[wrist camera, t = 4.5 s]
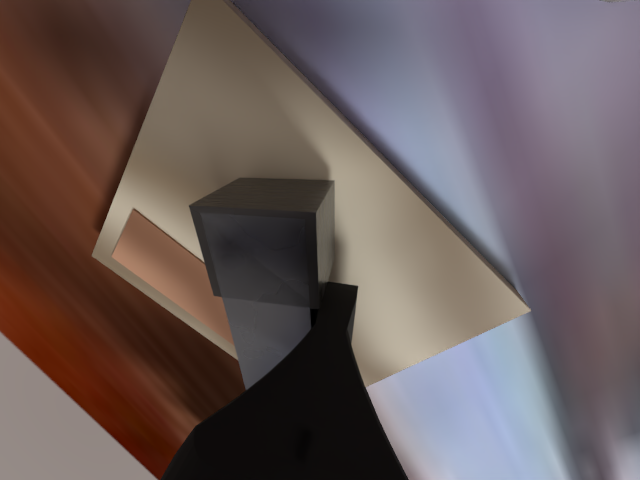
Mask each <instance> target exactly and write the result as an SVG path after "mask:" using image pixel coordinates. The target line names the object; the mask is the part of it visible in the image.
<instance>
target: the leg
mask: <svg viewBox="0 0 640 480" xmlns="http://www.w3.org/2000/svg"><path fill="white" fill-rule="evenodd" d="M189 208H190V212H191V216H192V219H193V223H194V226H195V230H196V234H197V237H198V241H199V244H200V248H201V252H202V255H203V259H204V263H205V266H206V270H207V273H208V277H209V281H210V284H211V288H212V291H213V295H214V296H217V297H222V299H223V303H224V307H225V311H226V315H227V319H228V323H229V326H230V330H231V334H232V338H233V342H234V346H235V350H236V354H237V357H238V361H239V365H240V369H241V373H242V377H243V381H244V384H245V388H246V390H247V389H248V388H250V387H251V386H252V385H253V384H255V383H256V382H257V381H259V380H260V379H261V378H262V377H263V376H265V375H266V374H267V373H268V372H269V371H270V370H272V369H273V368H274V367H275V366H276V365H277V364H278V363H279V362H280V361H281V360H282V359H283V358H285V357H286V356H287V355H288V354H289V353H290V352H291V351H292V350H293V349H294V348H295V347H296V346H297V344H298V343H299V342H300V341H301V340H302V339H303V338H304V337H305V336H306V334H307V333H308V332H309V331H310V330H311V328H312V327H313V326H314V325H315V323H316V318H317V313H318V309H320V306H321V302H322V299H323V296H324V292H325V289H326V285H327V282H328V279H329V275H330V272H331V268H332V265H333V262H334V256H335V180H306V179H273V178H241V177H240V178H238V179H236V180H234V181H232V182H231V183H229V184H227V185H225V186H223V187H221V188H220V189H218V190H216V191H214V192H212V193H210V194H209V195H207V196H205V197H203V198H201V199H199V200H198V201H196V202H194V203H192V204H190V205H189Z"/></svg>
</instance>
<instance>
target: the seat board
mask: <svg viewBox="0 0 640 480" xmlns="http://www.w3.org/2000/svg"><path fill="white" fill-rule="evenodd" d="M240 177H241V178H273V179H306V180H335V256H334V262H333V265H332V268H331V272H330V275H329V279H328V281H329V282H336V283H342V284H349V285H356V286H358V293H357V301H356V310H355V319H354V327H353V335H352V343H351V345H352V348H353V352H354V355H355V359H356V362H357V365H358V368H359V371H360V374H361V376H362V379H363V382H364V385H365V387H367V386H369V385H371V384H373V383H376V382H378V381H380V380H382V379H384V378H386V377H389V376H391V375H393V374H395V373H397V372H399V371H402V370H404V369H406V368H408V367H410V366H412V365H415V364H417V363H419V362H421V361H423V360H425V359H428V358H430V357H432V356H434V355H436V354H438V353H441V352H443V351H445V350H447V349H449V348H452V347H454V346H456V345H458V344H460V343H462V342H465V341H467V340H469V339H471V338H473V337H475V336H478V335H480V334H482V333H484V332H486V331H488V330H491V329H493V328H495V327H497V326H499V325H501V324H504V323H506V322H508V321H510V320H512V319H514V318H517V317H519V316H521V315H523V314H525V313H527V312H530V311H531V310H530V308H529V307H528V305H527V304H526V303H525V301H524V300H523V298H522V297H521V296H520V294H519V293H518V291H517V290H516V289H515V288H514V287H513V286H512V285H511V284H510V283H509V282H508V281H507V280H506V279H505V278H504V277H503V276H502V275H501V274H500V273H499V272H498V271H497V270H496V269H495V268H494V267H493V266H492V265H491V264H490V263H489V262H488V261H487V260H486V259H485V258H484V257H483V256H482V255H481V254H480V253H479V252H478V251H477V250H476V249H475V248H474V247H473V246H472V245H471V244H470V243H469V242H468V241H467V240H466V239H465V238H464V237H463V236H462V235H461V234H460V233H459V232H458V231H457V230H456V229H455V228H454V227H453V226H452V225H451V224H450V223H449V222H448V221H447V220H446V219H445V218H444V217H443V216H442V215H441V214H440V213H439V212H438V211H437V210H436V208H435V207H434V206H433V205H432V204H431V203H430V202H429V201H428V200H427V199H426V198H425V197H424V196H423V195H422V194H421V193H420V192H419V191H418V190H417V189H416V188H415V187H414V186H413V185H412V184H411V183H410V182H409V181H408V180H407V179H406V178H405V177H404V176H403V175H402V174H401V173H400V172H399V171H398V170H397V169H396V168H395V167H394V166H393V165H392V164H391V163H390V162H389V161H388V160H387V159H386V158H385V157H384V156H383V155H382V154H381V153H380V152H379V151H378V150H377V149H376V148H375V147H374V146H373V145H372V144H371V143H370V142H369V141H368V140H367V139H366V138H365V137H364V136H363V135H362V134H361V133H360V132H359V131H358V130H357V129H356V128H355V127H354V126H353V125H352V124H351V123H350V122H349V121H348V119H347V118H346V117H345V116H344V115H343V114H342V113H341V112H340V111H339V110H338V109H337V108H336V107H335V106H334V105H333V104H332V103H331V102H330V101H329V100H328V99H327V98H326V97H325V96H324V95H323V94H322V93H321V92H320V91H319V90H318V89H317V88H316V87H315V86H314V85H313V84H312V83H311V82H310V81H309V80H308V79H307V78H306V77H305V76H304V75H303V74H302V73H301V72H300V71H299V70H298V69H297V68H296V67H295V66H294V65H293V64H292V63H291V62H290V61H289V60H288V59H287V58H286V57H285V56H284V55H283V54H282V53H281V52H280V51H279V50H278V49H277V48H276V47H275V46H274V45H273V44H272V43H271V42H270V41H269V40H268V39H267V38H266V37H265V36H264V35H263V34H262V33H261V31H260V30H259V29H258V28H257V27H256V26H255V25H254V24H253V23H252V22H251V21H250V20H249V19H248V18H247V17H246V16H245V15H244V14H243V13H242V12H241V11H240V10H239V9H238V8H237V7H236V6H235V5H234V4H233V3H232V2H231V1H230V0H191V2H190V5H189V7H188V10H187V12H186V15H185V17H184V20H183V23H182V25H181V28H180V30H179V33H178V35H177V38H176V40H175V43H174V46H173V48H172V51H171V53H170V56H169V58H168V61H167V64H166V66H165V69H164V71H163V74H162V76H161V79H160V82H159V84H158V87H157V89H156V92H155V94H154V97H153V99H152V102H151V105H150V107H149V110H148V112H147V115H146V117H145V120H144V123H143V125H142V128H141V130H140V133H139V135H138V138H137V141H136V143H135V146H134V148H133V151H132V153H131V156H130V159H129V161H128V164H127V166H126V169H125V171H124V174H123V176H122V179H121V182H120V184H119V187H118V189H117V192H116V194H115V197H114V200H113V202H112V205H111V207H110V210H109V212H108V215H107V218H106V220H105V223H104V225H103V228H102V230H101V233H100V235H99V238H98V241H97V243H96V246H95V248H94V251H93V253H92V256H93V257H94V258H95V259H97V260H98V261H100V262H101V263H102V264H104V265H105V266H107V267H108V268H109V269H111V270H112V271H114V272H115V273H116V274H118V275H119V276H121V277H122V278H123V279H125V280H126V281H128V282H129V283H130V284H132V285H133V286H135V287H136V288H137V289H139V290H140V291H142V292H143V293H144V294H146V295H147V296H149V297H150V298H151V299H153V300H154V301H156V302H157V303H158V304H160V305H161V306H163V307H164V308H165V309H167V310H168V311H170V312H171V313H172V314H174V315H175V316H177V317H178V318H179V319H181V320H182V321H184V322H185V323H186V324H188V325H189V326H191V327H192V328H193V329H195V330H196V331H198V332H199V333H200V334H202V335H203V336H205V337H206V338H207V339H209V340H210V341H212V342H213V343H214V344H216V345H217V346H219V347H220V348H221V349H223V350H224V351H226V352H227V353H228V354H230V355H231V356H233V357H234V358H235V359H237V360H238V357H237V354H236V350H235V346H234V342H233V338H232V334H231V330H230V326H229V323H228V319H227V315H226V311H225V307H224V303H223V299H222V297H217V296H214V295H213V291H212V288H211V284H210V281H209V277H208V273H207V270H206V266H205V263H204V259H203V255H202V252H201V248H200V244H199V241H198V237H197V234H196V230H195V226H194V223H193V219H192V216H191V212H190V208H189V205H190V204H192V203H194V202H196V201H198V200H199V199H201V198H203V197H205V196H207V195H209V194H210V193H212V192H214V191H216V190H218V189H220V188H221V187H223V186H225V185H227V184H229V183H231V182H232V181H234V180H236V179H238V178H240Z"/></svg>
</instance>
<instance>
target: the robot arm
mask: <svg viewBox="0 0 640 480" xmlns="http://www.w3.org/2000/svg"><path fill="white" fill-rule="evenodd" d="M357 293H358V286H356V285H349V284H342V283H336V282H329V281H328V282H327V285H326V289H325V292H324V296H323V299H322V302H321V306H320V309H318V313H317V318H316V323H315V325H314V326H313V327H312V328H311V330H310V331H309V332H308V333H307V334H306V336H305V337H304V338H303V339H302V340H301V341H300V342H299V343H298V344H297V346H296V347H295V348H294V349H293V350H292V351H291V352H290V353H289V354H288V355H287V356H286V357H285V358H283V359H282V360H281V361H280V362H279V363H278V364H277V365H276V366H275V367H274V368H273V369H272V370H270V371H269V372H268V373H267V374H266V375H265V376H263V377H262V378H261V379H260V380H259V381H257V382H256V383H255V384H253V385H252V386H251V387H250V388H248V389H247V390H246V391H245V392H243V393H242V394H241V395H240V396H238V397H237V398H236V399H234V400H233V401H231V402H230V403H229V404H227V405H226V406H224V407H223V408H221V409H220V410H218V411H217V412H216V413H214V414H213V415H211V416H210V417H208V418H207V419H205V420H204V421H202V422H201V423H199V424H198V425H197V426H195V428H194V429H193V430H192V432H191V433H190V434H189V436H188V437H187V438H186V440H185V441H184V443H183V444H182V446H181V447H180V449H179V450H178V451H177V453H176V454H175V456H174V457H173V459H172V461H171V463H170V464H169V466H168V468H167V469H166V471H165V473H164V475H163V476H162V478H161V480H409V479H408V477H407V476H406V474H405V472H404V470H403V468H402V466H401V464H400V462H399V460H398V458H397V456H396V454H395V452H394V450H393V448H392V446H391V444H390V442H389V440H388V438H387V436H386V434H385V431H384V429H383V427H382V425H381V423H380V421H379V419H378V416H377V414H376V411H375V409H374V407H373V404H372V402H371V399H370V397H369V395H368V392H367V390H366V387H365V385H364V382H363V379H362V376H361V374H360V371H359V368H358V365H357V362H356V359H355V355H354V352H353V348H352V345H351V343H352V335H353V327H354V319H355V310H356V301H357Z"/></svg>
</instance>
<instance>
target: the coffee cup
mask: <svg viewBox="0 0 640 480" xmlns="http://www.w3.org/2000/svg"><path fill="white" fill-rule="evenodd" d="M601 1H605V2H621V1H633V0H601Z"/></svg>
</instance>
